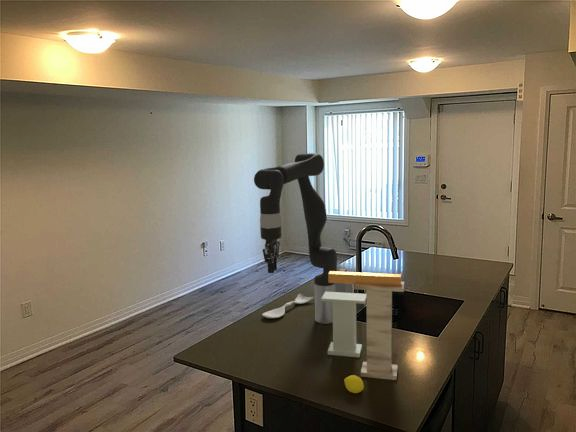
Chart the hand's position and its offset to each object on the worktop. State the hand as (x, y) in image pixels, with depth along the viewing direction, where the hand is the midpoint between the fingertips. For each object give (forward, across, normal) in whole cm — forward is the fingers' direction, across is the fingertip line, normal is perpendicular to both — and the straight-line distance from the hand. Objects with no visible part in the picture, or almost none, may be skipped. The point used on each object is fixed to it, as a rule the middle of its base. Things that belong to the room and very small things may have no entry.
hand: (272, 271), depth 175 cm
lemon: (+33, +19, +32) cm, 50 cm away
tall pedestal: (+33, +5, +39) cm, 51 cm away
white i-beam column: (+33, -9, +25) cm, 42 cm away
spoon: (+34, -47, -8) cm, 58 cm away
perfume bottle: (+33, -57, +17) cm, 68 cm away
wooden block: (+1, +5, +34) cm, 34 cm away
